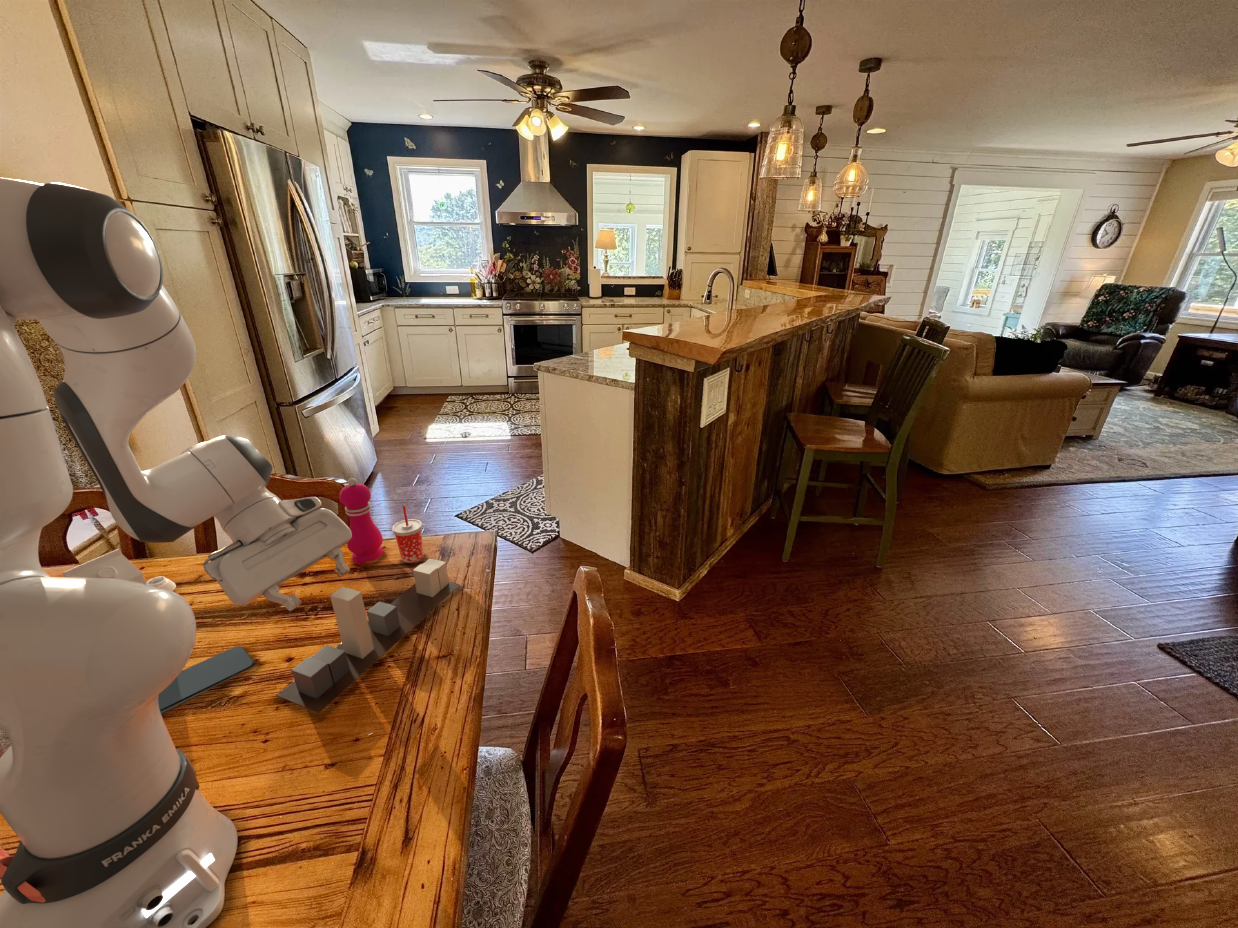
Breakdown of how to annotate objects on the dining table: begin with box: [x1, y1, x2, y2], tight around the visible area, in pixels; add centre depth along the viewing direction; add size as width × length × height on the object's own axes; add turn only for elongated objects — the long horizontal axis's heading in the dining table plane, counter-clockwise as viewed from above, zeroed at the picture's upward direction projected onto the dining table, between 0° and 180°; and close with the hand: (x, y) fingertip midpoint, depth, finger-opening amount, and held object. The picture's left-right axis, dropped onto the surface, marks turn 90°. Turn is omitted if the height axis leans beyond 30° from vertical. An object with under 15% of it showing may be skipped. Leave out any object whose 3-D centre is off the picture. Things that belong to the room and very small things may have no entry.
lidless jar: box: [146, 575, 177, 592], centre depth 99 cm, size 5×3×5 cm
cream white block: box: [412, 558, 450, 597], centre depth 100 cm, size 5×4×6 cm
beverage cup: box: [391, 504, 425, 563], centre depth 109 cm, size 6×6×14 cm
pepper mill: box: [339, 477, 384, 566], centre depth 108 cm, size 7×7×20 cm
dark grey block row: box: [290, 601, 400, 699], centre depth 83 cm, size 18×4×4 cm, turn 160°
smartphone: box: [158, 645, 255, 715], centre depth 78 cm, size 8×2×15 cm
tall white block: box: [329, 586, 374, 659], centre depth 82 cm, size 2×4×12 cm, turn 70°
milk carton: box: [62, 548, 147, 584], centre depth 81 cm, size 7×7×19 cm
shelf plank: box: [276, 581, 461, 714], centre depth 89 cm, size 34×9×1 cm, turn 160°
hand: (321, 589), depth 82 cm, fingers open, 8 cm apart
